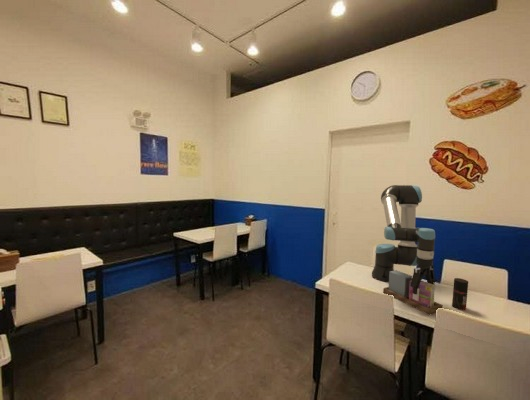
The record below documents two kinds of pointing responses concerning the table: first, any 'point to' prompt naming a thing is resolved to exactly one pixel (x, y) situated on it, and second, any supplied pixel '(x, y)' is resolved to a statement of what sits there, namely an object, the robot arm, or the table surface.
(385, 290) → the tray
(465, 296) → the deodorant
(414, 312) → the table surface
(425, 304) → the box
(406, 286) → the matte grey rectangular block
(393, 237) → the robot arm
